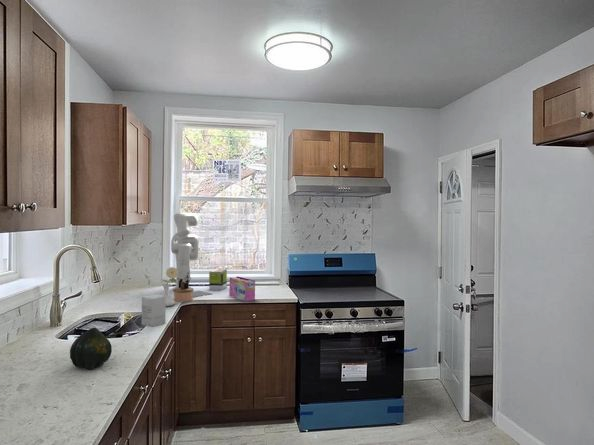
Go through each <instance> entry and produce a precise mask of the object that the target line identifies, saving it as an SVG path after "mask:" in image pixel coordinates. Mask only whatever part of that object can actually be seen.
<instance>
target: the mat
mask: <svg viewBox="0 0 594 445" xmlns="http://www.w3.org/2000/svg"><path fill="white" fill-rule="evenodd" d="M203 295H205V296H210V295H213V293H212V292H208V291H203V290H194V291H193V298H199V297H204V296H203ZM198 296H199V297H198Z"/></svg>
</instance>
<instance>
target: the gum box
mask: <svg viewBox="0 0 594 445" xmlns="http://www.w3.org/2000/svg"><path fill="white" fill-rule="evenodd" d="M228 288H229V291H228V292H229V293H228V295H229V297H232V298H235V299H237V300H241V301H244V302H250V301H255V300H256V280H254V279H249V278H245V277H242V276H235V277H229V287H228Z"/></svg>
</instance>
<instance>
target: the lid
mask: <svg viewBox="0 0 594 445" xmlns="http://www.w3.org/2000/svg"><path fill="white" fill-rule="evenodd" d="M184 283H185V281H182V282H181V288H175V289H174V288H173V293H174V292H178V293H186V292H192V291H195V289H194V288H193V287H191V286H190V287H191V288H190V287H189V288H188V289H184Z"/></svg>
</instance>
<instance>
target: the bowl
mask: <svg viewBox="0 0 594 445" xmlns="http://www.w3.org/2000/svg"><path fill="white" fill-rule="evenodd" d="M193 299H194V297H193V291H192V292H186V293H178V292H174V291H173V300H174V301H175V302H189V301H192V300H193Z"/></svg>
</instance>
